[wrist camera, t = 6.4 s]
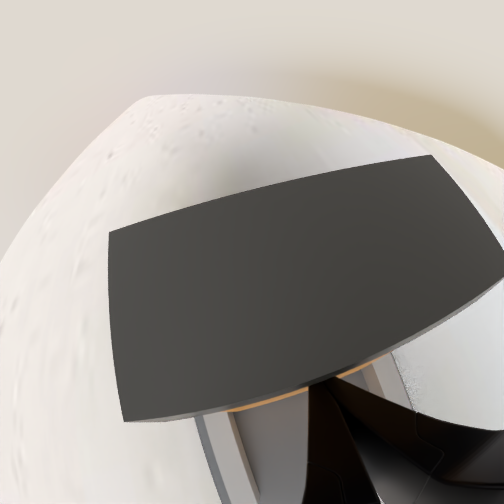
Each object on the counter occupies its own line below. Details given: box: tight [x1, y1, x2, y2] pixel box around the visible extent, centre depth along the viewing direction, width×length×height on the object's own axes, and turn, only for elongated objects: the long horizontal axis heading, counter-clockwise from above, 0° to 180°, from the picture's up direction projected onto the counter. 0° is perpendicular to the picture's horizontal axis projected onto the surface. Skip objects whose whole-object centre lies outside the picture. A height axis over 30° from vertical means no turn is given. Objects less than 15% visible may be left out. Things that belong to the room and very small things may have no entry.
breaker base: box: [194, 352, 413, 504], centre depth 13 cm, size 16×12×5 cm
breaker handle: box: [108, 155, 504, 422], centre depth 9 cm, size 3×7×12 cm, turn 106°
